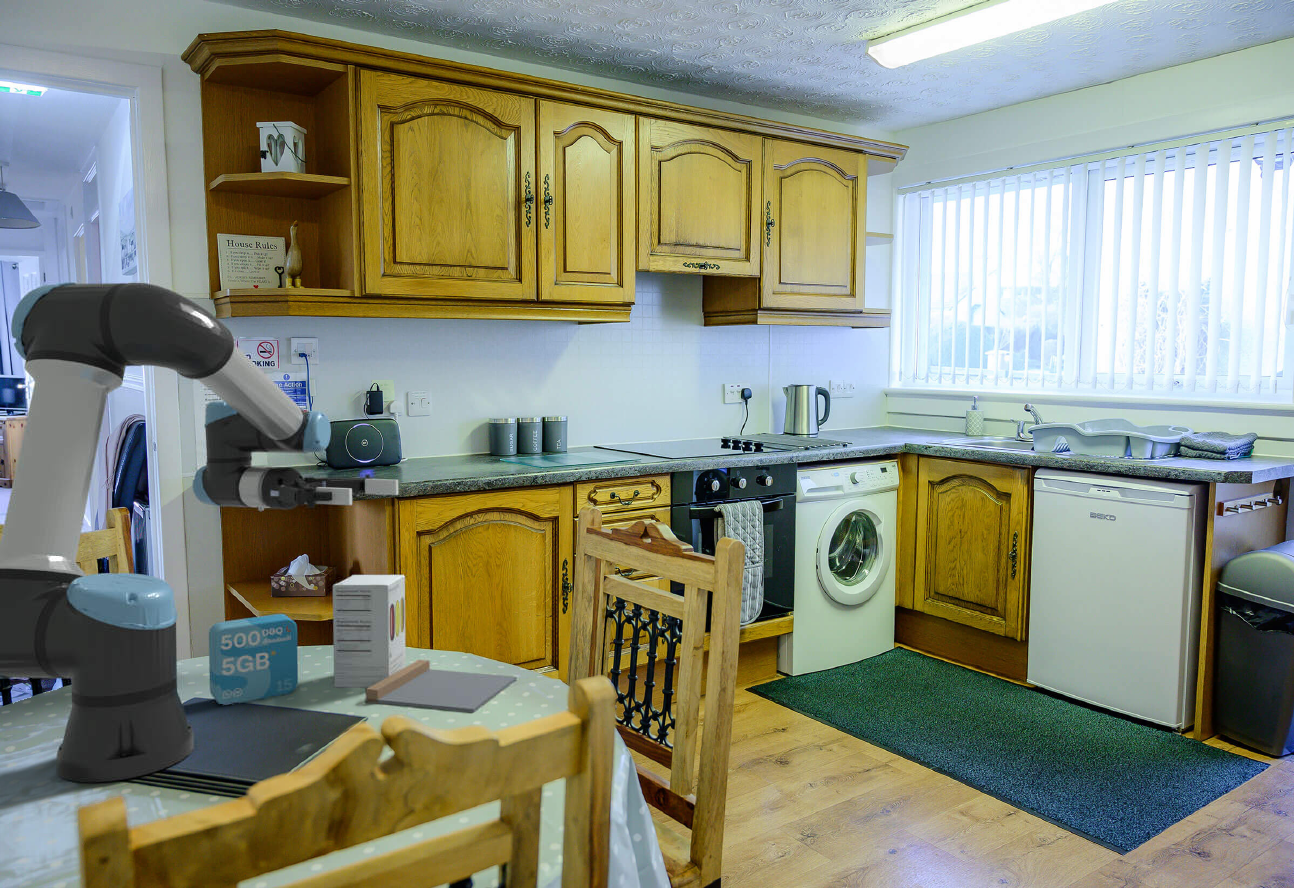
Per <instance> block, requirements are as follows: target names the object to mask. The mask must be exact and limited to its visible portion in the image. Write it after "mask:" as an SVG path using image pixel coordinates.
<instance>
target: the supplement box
mask: <svg viewBox="0 0 1294 888" xmlns="http://www.w3.org/2000/svg"><path fill="white" fill-rule="evenodd" d="M405 583H406V576H405V575H404V574H352V575H351V576H349V577H346V579H343V580H341V581H340V582H338V583H334V584H333V585H332V615H333V616H332V618H333V621H332V622H333V623H332V624H333V626H332V627H333V687H334V688H363V689H364V688H365V689H367V688H369V687H371V686H372V685H374V684H376V683H378V682H380V681H381V680H383V679H385V678H387V677H389V676H391V675H392V674H394V673H396V672H398V671H400V670H401V669H403V668H405V667H407V666H406V597H405V596H406V594H405V593H406V589H405V588H406V584H405Z"/></svg>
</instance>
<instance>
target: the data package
mask: <svg viewBox="0 0 1294 888" xmlns="http://www.w3.org/2000/svg"><path fill="white" fill-rule="evenodd" d="M298 658H299V657H298V625H297V623H296V622H295V620H293V619H292V618H290V617H288V615H286V614H284V613H277V614H269V615H263V616H257V617H247V618H241V619H240V618H239V619H234V620H233V619H232V620H225V621H220V622H217V623H214V624H213V625H212V626H211V627H210V628H209V631H208V660H209V666H208V667H209V668H208V669H209V692H210V695H211V696H212V697H213V699H214V700H215V701H216V702H217V704H218V705H220V704H225V703H231V702H232V703H233V702H239V703H238V704H243V703H246V702H253V701H258V700H263V699H268V698H274V697H279V696H285V695H288V694H291V693H292V692H294V691H295V690H296V689H297V687H298V683H299V674H298V672H299V671H298V669H299V666H298Z"/></svg>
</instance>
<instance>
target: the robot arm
mask: <svg viewBox="0 0 1294 888" xmlns="http://www.w3.org/2000/svg"><path fill="white" fill-rule="evenodd" d="M10 329H11V330H10V331H11V333H10V334H11V336H12V339H15V342H14V343H13V346H14V348H15V349H16V352H17V353H18V355H19V356H20V357H21V358H22V359H23V360H24V361H25V363H24V370H25V371H26V372H27V373H28V374H29V376H30V377H31V378H32V379H33V381H34V386H33V390H32V395H31V399H30V404H29V408H28V413H27V418H26V422H25V426H24V431H23V436H22V439H21V440H22V441H21V445H20V450H19V454H18V459H17V464H16V468H15V472H14V478H13V483H12V487H11V492H10V494H9V495H10V496H9V501H8V506H7V510H6V514H5V520H4V522H3V523H4V525H3V528H2V532H1V533H2V534H1V538H0V679H13V678H18V679H19V678H27V679H28V678H29V679H31V678H32V679H70V680H71V681H70V682H71V684H70V685H71V711H70V713H69V716H68V720H67V723H66V727H65V730H64V735H63V740H62V742H61V744H60V745H58V749H57V752H56V773H57V774H58V776H59V777H61V778H62V779H65V780H68V781H72V782H77V783H103V782H104V783H106V782H115V781H120V780H126V779H132V778H137V777H141V776H145V775H149V774H151V773H155V772H158V771H161V770H165V769H166V767H167V768H168V767H171V766H173V765H175V763H176V764H178V763H179V762H181V761H183V760H184V759H186V758H187V757H188V756H190V755H191V753H192V752H193V750H194V747H195V745H194V743H195V742H194V730H193V727H192V725H191V724H190V723H189V722H188V719H187V715H186V711H185V709H184V705H183V703H182V700H181V698H180V695H179V693H178V670H177V669H178V664H177V662H178V661H177V660H178V659H177V650H178V649H177V619H178V611H177V609H176V601H175V594H174V593H175V592H174V590H173V588H172V586H171V585H170V584H169V583H168V582H167V581H165V580H163V579H162V578H160V577H155V576H152V575H146V574H141V573H131V572H130V573H127V572H119V573H108V572H106V573H105V572H104V573H102V572H101V573H94V574H88V575H87V574H86V573H85V571H84V570H83V569H82V568H81V567H80V566H79V565H78V564H77V554H78V550H79V545H80V539H81V534H82V529H83V525H84V523H83V522H84V519H85V512H86V509H87V503H88V497H89V492H90V487H91V483H92V476H93V472H94V466H95V461H96V457H97V450H98V446H99V441H100V437H101V432H102V426H103V420H104V415H105V414H104V413H105V410H106V405H107V399H108V395H109V394H110V393H111V392H113V391H115V390H117V389H118V388H120V387H122V385H123V382H124V377H125V371H126V368H127V367H141V366H144V367H145V366H150V367H151V366H152V367H159V368H167V369H170V370H173V371H175V372H176V373H177V374H179V375H180V376H181V377H184V379H185V378H186V379H189V380H198V381H199V382H200V383H201V384H202V385H204V386H205V387H206V388H207V389H208V390H210V391H211V392H212V393H213V394H215V396H217V397H218V398H220V400H216V401H210V402H208V403H207V404H206V406H205V417H204V418H205V419H204V420H205V423H204V428H205V429H204V430H205V447H206V463H205V465H203V466H201V467H200V468H199V469H198V470H197V471H196V472H195V474H194V479H193V480H192V491H193V494H194V496H195V497H196V498H197V500H198V501H199V502H201V503H202V504H205V505H208V506H209V505H210V506H211V505H212V506H217V507H222V508H224V507H225V508H227V507H232V508H236V507H237V508H258V509H257V510H258V511H259V512H263V511H264V510H265V509H273V510H274V509H275V510H276V509H277V510H291V509H295V508H296V507H297V506H298V505H299V506H302V505H305V503H306V505H307V507H306V508H307V509H312V508H313V509H315V507H316V506H315V505H316V504H317V505H335V506H336V505H337V506H338V505H339V506H352V505H353V494H360V493H361V494H362V493H363V494H365V495H385V496H386V495H387V496H399V479H390V478H389V479H387V478H385V479H383V478H372V477H370V474H365V477H341V478H339V477H337V478H336V477H335V478H334V477H333V478H332V477H331V478H329V477H314V476H307V477H303V476H302V474H301V473H300V471H299V470H298V469H296V468H293V467H282V466H279V467H277V466H276V467H275V466H263V465H262V466H260V465H257V466H256V465H253V466H252V461H253V458H252V457H253V456H252V453H278V454H279V453H281V454H286V453H287V454H289V453H290V454H307V453H309V454H310V453H321V452H323V451H325V450H326V449H327V447H329V445H330V441H331V436H332V434H331V433H332V428H331V422H330V420H329V417H328V416H327V414H325V413H324V412H322V411H315V410H308V411H305V410H303V409H302V408H301V407H300V406H299V405H298V404H297V403H296V402H295V401H294V400H293V399H292V398H291V397H290V396H289V395H288V394H287V393H286V392H285V391H283V389H281V388H280V387H279V385H277V384H276V383H275V381H273V380H272V379H271V378H270V377H269V376H268V375H267V374H266V373H265V372H264V371H263V370H262V369H260V368H259V366H257V364H256V363H254V362H253V361H252V359H250V358H249V357H248V356H247V355H246V354H245V353H244V352H243V351H242V350H241V349H240V348H239V347H238V346H237V345H236V340H235V337H234V334H233V333H232V331H231V330H230V328H228V327H227V326H226V325H225V324H224V323H223V322H222V321H220V320H219V319H218V318H217V317H216V316H215V315H213V314H212V313H211V312H209V311H208V310H207V309H205V308H204V307H202V306H200V305H199V304H198V303H196V302H194V301H193V300H191V299H189V298H187V297H186V296H184V295H182V294H179V293H177V292H175V291H173V290H171V289H168V288H165V287H163V286H160V285H155V284H151V283H146V282H128V283H126V282H125V283H124V282H120V283H119V282H118V283H116V282H115V283H113V282H112V283H109V282H108V283H107V282H106V283H105V282H104V283H99V282H98V283H79V282H74V281H73V282H72V281H71V282H70V281H69V282H67V281H66V282H61V283H55V284H46V285H45V284H44V285H42V286H38V287H36V288H34V289H32V290H31V291H29V292H27V293H26V294H25V295H24V296H23V297H22V298H21V299H20V301H19V303H18V304H17V305H16V307H15V309H14V312H13V314H12V319H11V328H10ZM193 746H194V747H193ZM192 749H193V750H192ZM191 751H192V752H191ZM187 755H188V756H187ZM186 756H187V757H186ZM185 757H186V758H185ZM182 759H183V760H182Z"/></svg>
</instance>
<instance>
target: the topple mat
mask: <svg viewBox="0 0 1294 888" xmlns="http://www.w3.org/2000/svg"><path fill="white" fill-rule="evenodd" d="M516 679H517V676H511V675H500V674H489V673H477V672H465V671H455V670H454V671H452V670H441V669H431V668H430V660H425V659H418V660H415V661H414V662H413V663H410V664H409V665H407V666H406V667H405V668H403V669H401V670H400V671H398V672H396V673H394V674H392V675H391V676H389V677H387V678H385V679H383V680H381V681H380V682H378V683H376V684H374V685H372V686H371V687H369V688H365V701H366V703H374V704H383V705H384V704H385V705H386V704H387V705H396V706H407V707H414V708H415V707H416V708H427V709H435V710H436V709H437V710H445V711H446V710H448V711H458V712H467V713H474V712H476V711H477V710H478V709H480V708H482V706H484V705H485V704H486V703H488V702H489V701H491V700H492V699H493V698H494V697H496V696H497V695H499V694H500V693H501V692H503V691H504V690H505V689H506V688H507V687H509V686H511V685H512V684H513V683H515V682H516V681H517V680H516ZM515 680H516V681H515Z"/></svg>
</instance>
